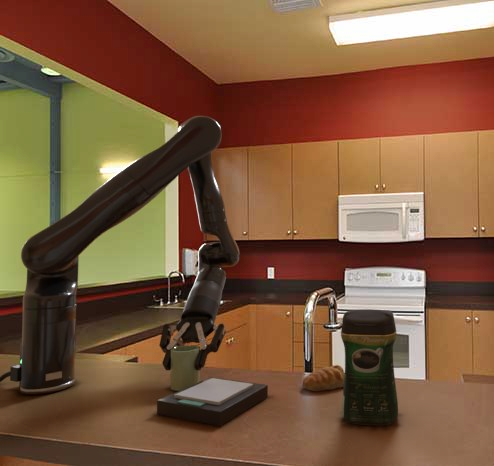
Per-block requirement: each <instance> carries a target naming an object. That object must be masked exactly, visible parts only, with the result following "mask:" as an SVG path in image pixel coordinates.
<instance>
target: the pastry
mask: <svg viewBox="0 0 494 466" xmlns="http://www.w3.org/2000/svg"><path fill="white" fill-rule="evenodd" d="M344 375H345V369H344V368H343V367H342V365H339V364H334V365H333V364H332V365H331V366H323V367H319V368H318V369H316V370H315V371H314V372H311V373H309V374H308V375H307V376H305V377H303V379H302V382H301V387H302V388H304V389H306V390H310V391H312V392H320V391H327V390H328V391H329V390H334V389H337V388H338V389H339V388H344Z"/></svg>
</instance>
